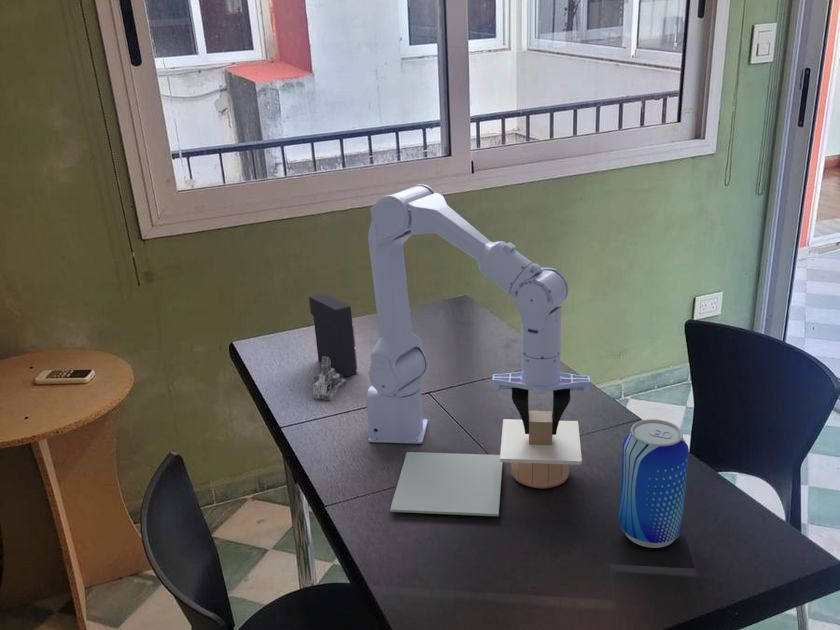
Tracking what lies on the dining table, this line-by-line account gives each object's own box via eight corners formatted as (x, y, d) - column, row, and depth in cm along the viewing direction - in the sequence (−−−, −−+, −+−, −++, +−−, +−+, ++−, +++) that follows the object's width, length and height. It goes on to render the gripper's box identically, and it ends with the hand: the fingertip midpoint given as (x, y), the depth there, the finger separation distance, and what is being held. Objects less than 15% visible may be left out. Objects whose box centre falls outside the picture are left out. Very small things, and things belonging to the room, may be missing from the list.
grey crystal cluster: (313, 376, 160) (309, 342, 158) (350, 381, 157) (347, 347, 154) (290, 395, 153) (286, 360, 150) (329, 401, 150) (326, 365, 147)
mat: (390, 511, 115) (390, 509, 115) (407, 454, 130) (406, 451, 130) (498, 516, 113) (498, 514, 113) (503, 457, 128) (503, 455, 127)
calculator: (360, 372, 160) (354, 304, 155) (342, 378, 158) (335, 310, 152) (332, 356, 169) (326, 291, 163) (315, 362, 166) (308, 296, 161)
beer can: (644, 558, 103) (651, 454, 97) (606, 523, 110) (610, 424, 104) (694, 540, 106) (704, 438, 100) (654, 507, 113) (661, 410, 107)
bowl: (510, 487, 120) (510, 459, 118) (512, 455, 128) (512, 429, 126) (570, 489, 118) (570, 461, 116) (567, 457, 126) (568, 430, 125)
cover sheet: (500, 462, 116) (499, 435, 115) (503, 422, 127) (503, 397, 126) (581, 464, 114) (582, 437, 113) (577, 424, 126) (578, 399, 124)
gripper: (490, 361, 113) (492, 443, 118) (592, 363, 111) (589, 446, 116) (493, 342, 119) (494, 420, 124) (589, 343, 117) (587, 422, 122)
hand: (540, 431), depth 120 cm, fingers closed on cover sheet, 3 cm apart
